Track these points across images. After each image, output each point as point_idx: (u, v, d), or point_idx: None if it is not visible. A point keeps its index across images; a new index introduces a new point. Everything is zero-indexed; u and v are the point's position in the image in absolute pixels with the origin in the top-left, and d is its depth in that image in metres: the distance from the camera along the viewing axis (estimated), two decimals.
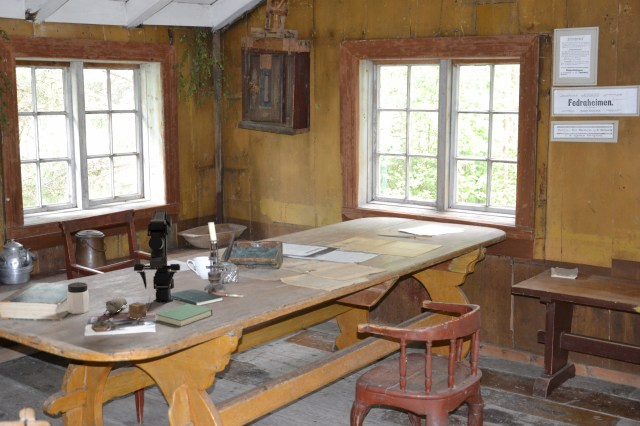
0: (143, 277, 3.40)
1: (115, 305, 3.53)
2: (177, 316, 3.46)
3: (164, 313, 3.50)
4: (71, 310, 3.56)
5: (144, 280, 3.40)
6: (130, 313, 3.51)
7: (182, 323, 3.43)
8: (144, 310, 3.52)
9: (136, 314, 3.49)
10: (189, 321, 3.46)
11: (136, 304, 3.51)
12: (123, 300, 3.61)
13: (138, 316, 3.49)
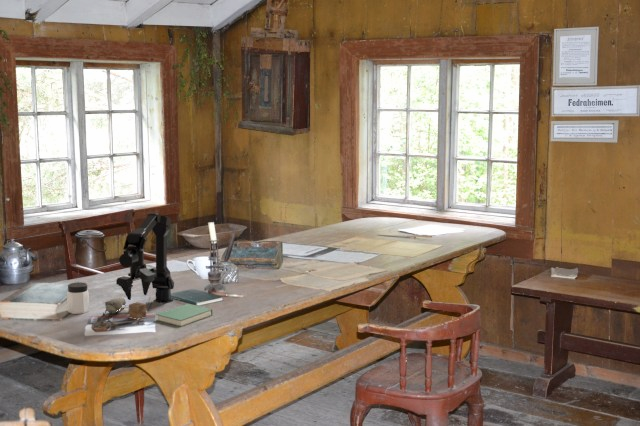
0: (130, 290, 3.45)
1: (114, 305, 3.53)
2: (177, 316, 3.46)
3: (163, 313, 3.50)
4: (71, 310, 3.56)
5: (130, 292, 3.46)
6: (130, 313, 3.51)
7: (182, 323, 3.43)
8: (144, 310, 3.52)
9: (136, 314, 3.49)
10: (189, 321, 3.46)
11: (136, 304, 3.51)
12: (122, 300, 3.61)
13: (138, 316, 3.49)
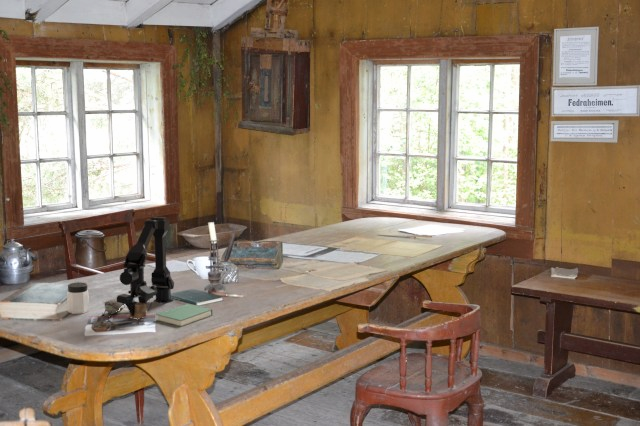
0: (133, 306, 3.48)
1: (114, 305, 3.53)
2: (177, 316, 3.46)
3: (164, 313, 3.50)
4: (71, 310, 3.56)
5: (133, 309, 3.48)
6: (130, 313, 3.51)
7: (182, 323, 3.43)
8: (144, 310, 3.52)
9: (136, 314, 3.49)
10: (189, 321, 3.46)
11: (136, 304, 3.51)
12: None
13: (138, 316, 3.49)
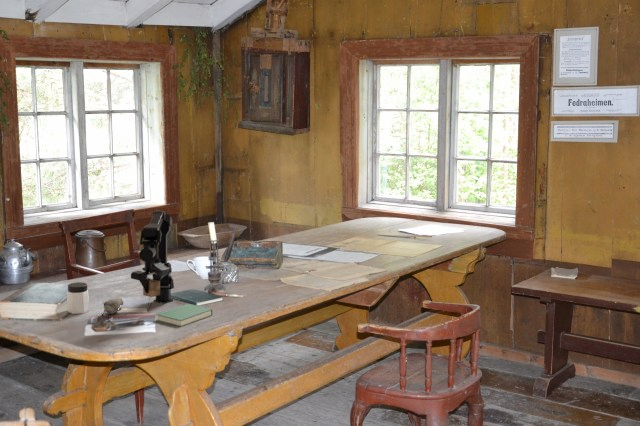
0: (147, 283, 3.46)
1: (113, 305, 3.52)
2: (177, 316, 3.46)
3: (163, 313, 3.50)
4: (71, 310, 3.56)
5: (148, 286, 3.47)
6: (144, 290, 3.50)
7: (182, 323, 3.43)
8: (158, 287, 3.50)
9: (150, 291, 3.48)
10: (189, 321, 3.46)
11: (150, 281, 3.50)
12: (120, 300, 3.60)
13: (152, 293, 3.48)
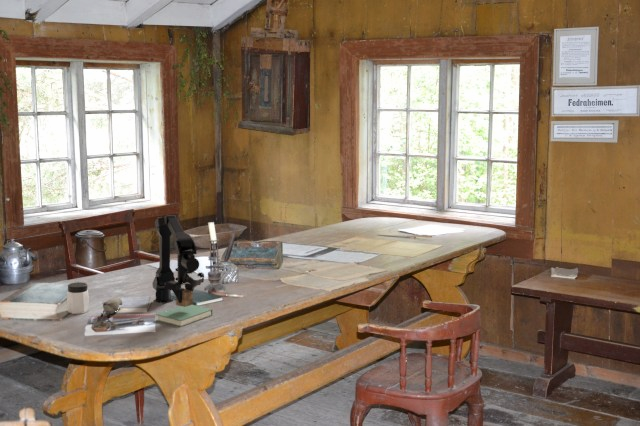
0: (181, 293, 3.48)
1: (112, 306, 3.52)
2: (177, 316, 3.46)
3: (163, 313, 3.50)
4: (71, 310, 3.56)
5: (181, 296, 3.49)
6: (177, 300, 3.51)
7: (182, 323, 3.43)
8: (191, 297, 3.52)
9: (183, 301, 3.49)
10: (189, 321, 3.46)
11: (183, 291, 3.52)
12: (119, 300, 3.60)
13: (185, 303, 3.50)
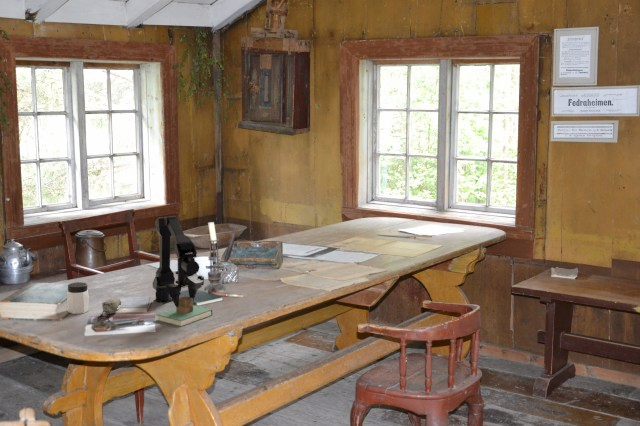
0: (178, 297, 3.47)
1: (112, 306, 3.52)
2: (177, 316, 3.46)
3: (163, 313, 3.50)
4: (71, 310, 3.56)
5: (178, 300, 3.47)
6: (177, 307, 3.52)
7: (182, 323, 3.43)
8: (191, 304, 3.53)
9: (183, 308, 3.50)
10: (189, 321, 3.46)
11: (183, 298, 3.52)
12: (118, 300, 3.60)
13: (185, 310, 3.50)
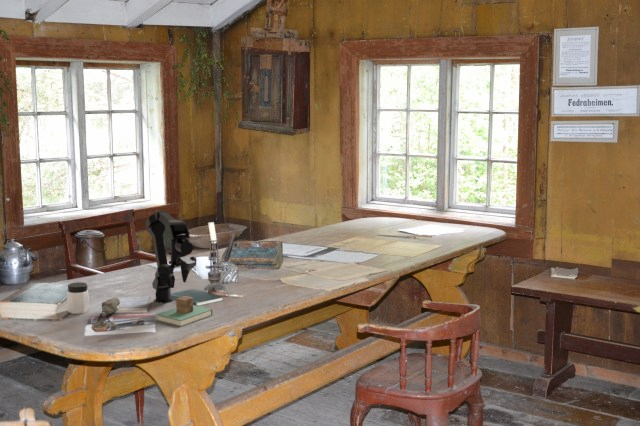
0: (170, 277, 3.56)
1: (111, 306, 3.52)
2: (177, 316, 3.46)
3: (163, 313, 3.50)
4: (71, 310, 3.56)
5: (171, 280, 3.57)
6: (177, 307, 3.52)
7: (182, 323, 3.43)
8: (191, 304, 3.53)
9: (183, 308, 3.50)
10: (189, 321, 3.46)
11: (183, 298, 3.52)
12: (117, 301, 3.60)
13: (186, 310, 3.50)
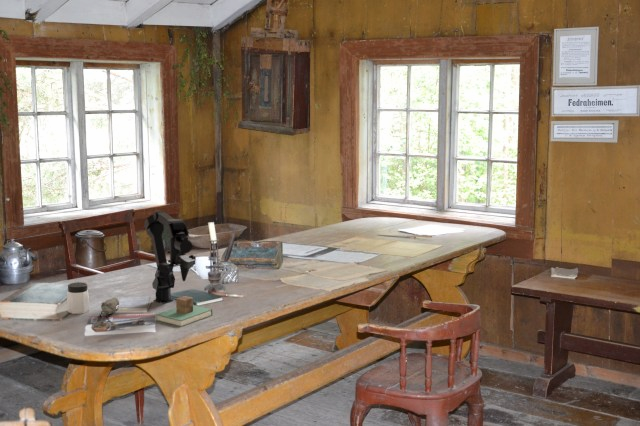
0: (170, 276, 3.57)
1: (111, 306, 3.52)
2: (177, 316, 3.46)
3: (163, 313, 3.50)
4: (71, 310, 3.56)
5: (170, 278, 3.58)
6: (177, 307, 3.52)
7: (182, 323, 3.43)
8: (191, 304, 3.53)
9: (183, 308, 3.50)
10: (189, 321, 3.46)
11: (183, 298, 3.52)
12: (116, 301, 3.60)
13: (186, 310, 3.50)
